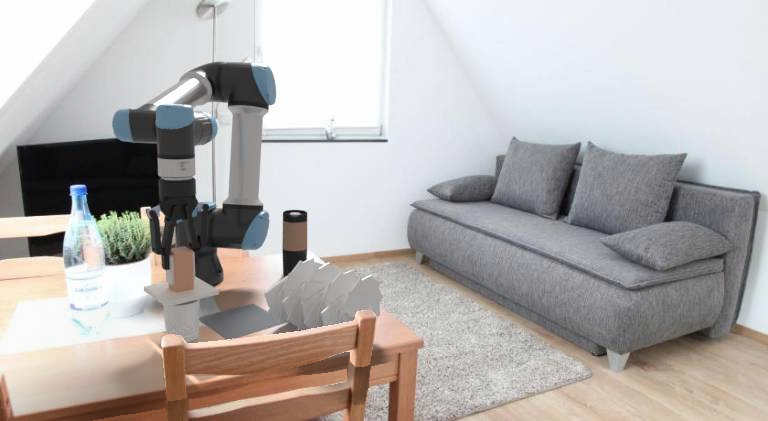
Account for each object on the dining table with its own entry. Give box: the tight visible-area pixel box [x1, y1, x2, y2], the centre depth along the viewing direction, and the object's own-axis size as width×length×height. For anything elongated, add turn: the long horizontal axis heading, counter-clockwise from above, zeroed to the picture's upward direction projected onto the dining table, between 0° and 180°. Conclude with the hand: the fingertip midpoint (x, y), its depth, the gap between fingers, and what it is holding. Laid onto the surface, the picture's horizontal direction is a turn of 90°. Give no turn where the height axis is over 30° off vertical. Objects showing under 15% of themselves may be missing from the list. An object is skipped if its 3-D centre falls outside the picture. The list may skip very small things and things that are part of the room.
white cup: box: [162, 299, 201, 343], centre depth 127 cm, size 8×8×10 cm
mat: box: [199, 302, 285, 340], centre depth 138 cm, size 16×16×1 cm
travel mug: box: [281, 209, 308, 277], centre depth 174 cm, size 8×8×20 cm
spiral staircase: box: [264, 257, 384, 332], centre depth 132 cm, size 18×18×25 cm
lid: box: [143, 246, 220, 307], centre depth 124 cm, size 12×12×10 cm
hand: (180, 280), depth 125 cm, fingers closed on lid, 4 cm apart
